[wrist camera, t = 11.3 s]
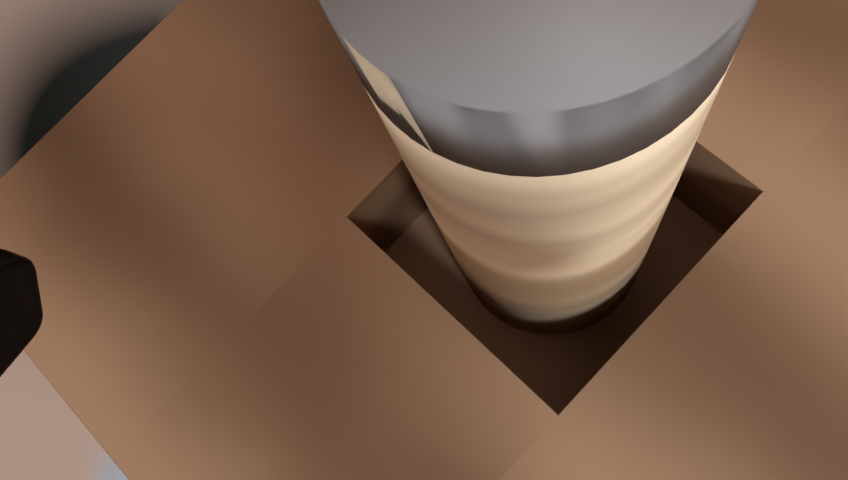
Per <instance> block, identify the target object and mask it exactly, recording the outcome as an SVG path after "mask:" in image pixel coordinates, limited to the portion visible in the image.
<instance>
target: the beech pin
mask: <svg viewBox="0 0 848 480" xmlns="http://www.w3.org/2000/svg"><path fill="white" fill-rule="evenodd" d="M319 2H320V4H321V6H322V8H323V10H324V12H325V14H326V16H327V18H328V19H329V21H330V23H331V25H332V27H333V29H334V31H335V33H336V34H337V36H338V38H339V40H340V42H341V44H342V46H343V48H344V50H345V51H346V53H347V55H348V57H349V59H350V61H351V63H352V65H353V67H354V68H355V70H356V72H357V74H358V76H359V78H360V80H361V82H362V84H363V85H364V87H365V89H366V91H367V93H368V95H369V97H370V99H371V101H372V102H373V104H374V106H375V108H376V110H377V112H378V114H379V116H380V117H381V119H382V121H383V123H384V125H385V127H386V129H387V131H388V133H389V134H390V136H391V138H392V140H393V142H394V144H395V146H396V148H397V150H398V151H399V153H400V155H401V157H402V159H403V161H404V163H405V165H406V167H407V168H408V170H409V172H410V174H411V176H412V178H413V180H414V182H415V184H416V185H417V187H418V189H419V191H420V193H421V195H422V197H423V199H424V200H425V202H426V204H427V206H428V208H429V210H430V212H431V214H432V216H433V217H434V219H435V221H436V223H437V225H438V227H439V229H440V231H441V233H442V234H443V236H444V238H445V240H446V242H447V244H448V246H449V248H450V250H451V251H452V253H453V255H454V257H455V259H456V261H457V263H458V265H459V267H460V268H461V270H462V272H463V274H464V276H465V278H466V280H467V282H468V283H469V285H470V287H471V289H472V291H473V292H474V294H475V295H476V297H477V298H478V300H479V301H480V302H481V303H482V305H483V306H484V307H485V308H486V309H487V310H488V311H489V312H491V313H492V314H493V315H494V316H495V317H497V318H498V319H500V320H501V321H503V322H504V323H506V324H508V325H510V326H512V327H514V328H517V329H520V330H522V331H525V332H530V333H534V334H542V335H562V334H567V333H573V332H576V331H579V330H582V329H585V328H587V327H590V326H592V325H594V324H596V323H597V322H599V321H601V320H602V319H604V318H605V317H607V316H608V315H609V314H610V313H611V312H612V311H614V310H615V309H616V308H617V307H618V305H619V304H620V303H621V302H622V301H623V300H624V298H625V297H626V295H627V294H628V292H629V291H630V289H631V287H632V284H633V282H634V280H635V278H636V276H637V274H638V271H639V269H640V267H641V265H642V262H643V260H644V258H645V256H646V253H647V251H648V249H649V247H650V244H651V242H652V240H653V238H654V235H655V233H656V231H657V228H658V226H659V224H660V222H661V219H662V217H663V215H664V213H665V210H666V208H667V206H668V204H669V201H670V199H671V197H672V195H673V192H674V190H675V188H676V186H677V183H678V181H679V179H680V177H681V174H682V172H683V170H684V168H685V165H686V163H687V161H688V159H689V156H690V154H691V152H692V149H693V147H694V145H695V143H696V140H697V138H698V136H699V134H700V131H701V129H702V127H703V125H704V122H705V120H706V118H707V116H708V113H709V111H710V109H711V107H712V104H713V102H714V100H715V98H716V95H717V93H718V91H719V89H720V86H721V84H722V82H723V79H724V77H725V75H726V73H727V70H728V68H729V66H730V64H731V61H732V59H733V57H734V55H735V52H736V50H737V48H738V46H739V43H740V41H741V39H742V37H743V34H744V32H745V30H746V28H747V25H748V23H749V21H750V19H751V16H752V14H753V12H754V10H755V7H756V5H757V3H758V0H319Z"/></svg>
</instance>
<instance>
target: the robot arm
mask: <svg viewBox="0 0 848 480" xmlns="http://www.w3.org/2000/svg"><path fill="white" fill-rule="evenodd" d="M42 319H43V310H42V303H41V297H40V291H39V285H38V279H37V273H36V269H35V266H34V264H33V263H32V261H31V260H30V259H28V258H27V257H24V256H21V255H19V254H16V253H13V252H11V251H8V250H5V249H0V377H1V375H2V374H3V373H4V372H5V371H6V369H7V368H8V367H9V366H10V365H11V364H12V362H13V361H14V360H15V359H16V358H17V357H18V355H19V354H20V353H21V352H22V351H23V349H24V348H25V347H26V346H27V345H28V344H29V342H30V341H31V340H32V339H33V338H34V336H35V335H36V334H37V332H38V330H39V328H40V326H41V323H42Z"/></svg>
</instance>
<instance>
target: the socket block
mask: <svg viewBox="0 0 848 480" xmlns="http://www.w3.org/2000/svg"><path fill="white" fill-rule="evenodd" d="M0 249H5V250H8V251H11V252H13V253H16V254H19V255H21V256H24V257H27V258H28V259H30V260H31V261H32V263H33V264H34V266H35V269H36V273H37V279H38V285H39V291H40V297H41V303H42V310H43V319H42V323H41V326H40V328H39V330H38V332H37V334H36V335H35V336H34V338H33V339H32V340H31V341H30V342H29V344H28V345H27V346H26V347H25V348H24V349H23V350H24V351H25V353H26V354H27V355H28V356H29V358H30V359H31V360H32V361H33V362H34V364H35V365H36V366H37V367H38V369H39V370H40V371H41V372H42V373H43V375H44V376H45V377H46V378H47V380H48V381H49V382H50V383H51V385H52V386H53V387H54V388H55V390H56V391H57V392H58V393H59V394H60V396H61V397H62V398H63V399H64V401H65V402H66V403H67V404H68V406H69V407H70V408H71V409H72V411H73V412H74V413H75V414H76V415H77V417H78V418H79V419H80V420H81V422H82V423H83V424H84V425H85V427H86V428H87V429H88V430H89V431H90V433H91V434H92V435H93V436H94V438H95V439H96V440H97V441H98V443H99V444H100V445H101V446H102V448H103V449H104V450H105V451H106V453H107V454H108V455H109V456H110V457H111V459H112V460H113V461H114V462H115V464H116V465H117V466H118V467H119V469H120V470H121V471H122V472H123V473H124V475H125V476H126V477H127V478H128V480H848V0H758V3H757V5H756V7H755V10H754V12H753V14H752V16H751V19H750V21H749V23H748V25H747V28H746V30H745V32H744V34H743V37H742V39H741V41H740V43H739V46H738V48H737V50H736V52H735V55H734V57H733V59H732V61H731V64H730V66H729V68H728V70H727V73H726V75H725V77H724V79H723V82H722V84H721V86H720V89H719V91H718V93H717V95H716V98H715V100H714V102H713V104H712V107H711V109H710V111H709V113H708V116H707V118H706V120H705V122H704V125H703V127H702V129H701V131H700V134H699V136H698V138H697V140H696V143H695V145H694V147H693V149H692V152H691V154H690V156H689V159H688V161H687V163H686V165H685V168H684V170H683V172H682V174H681V177H680V179H679V181H678V183H677V186H676V188H675V190H674V192H673V195H672V197H671V199H670V201H669V204H668V206H667V208H666V210H665V213H664V215H663V217H662V219H661V222H660V224H659V226H658V228H657V231H656V233H655V235H654V238H653V240H652V242H651V244H650V247H649V249H648V251H647V253H646V256H645V258H644V260H643V262H642V265H641V267H640V269H639V271H638V274H637V276H636V278H635V280H634V282H633V284H632V287H631V289H630V291H629V292H628V294H627V295H626V297H625V298H624V300H623V301H622V302H621V303H620V304H619V305H618V307H617V308H616V309H615V310H614V311H612V312H611V313H610V314H609V315H608V316H607V317H605V318H604V319H602V320H601V321H599V322H597V323H596V324H594V325H592V326H590V327H587V328H585V329H582V330H579V331H576V332H573V333H567V334H562V335H542V334H534V333H530V332H525V331H522V330H520V329H517V328H514V327H512V326H510V325H508V324H506V323H504V322H503V321H501V320H500V319H498V318H497V317H495V316H494V315H493V314H492V313H491V312H489V311H488V310H487V309H486V308H485V307H484V306H483V305H482V303H481V302H480V301H479V300H478V298H477V297H476V295H475V294H474V292H473V291H472V289H471V287H470V285H469V283H468V282H467V280H466V278H465V276H464V274H463V272H462V270H461V268H460V267H459V265H458V263H457V261H456V259H455V257H454V255H453V253H452V251H451V250H450V248H449V246H448V244H447V242H446V240H445V238H444V236H443V234H442V233H441V231H440V229H439V227H438V225H437V223H436V221H435V219H434V217H433V216H432V214H431V212H430V210H429V208H428V206H427V204H426V202H425V200H424V199H423V197H422V195H421V193H420V191H419V189H418V187H417V185H416V184H415V182H414V180H413V178H412V176H411V174H410V172H409V170H408V168H407V167H406V165H405V163H404V161H403V159H402V157H401V155H400V153H399V151H398V150H397V148H396V146H395V144H394V142H393V140H392V138H391V136H390V134H389V133H388V131H387V129H386V127H385V125H384V123H383V121H382V119H381V117H380V116H379V114H378V112H377V110H376V108H375V106H374V104H373V102H372V101H371V99H370V97H369V95H368V93H367V91H366V89H365V87H364V85H363V84H362V82H361V80H360V78H359V76H358V74H357V72H356V70H355V68H354V67H353V65H352V63H351V61H350V59H349V57H348V55H347V53H346V51H345V50H344V48H343V46H342V44H341V42H340V40H339V38H338V36H337V34H336V33H335V31H334V29H333V27H332V25H331V23H330V21H329V19H328V18H327V16H326V14H325V12H324V10H323V8H322V6H321V4H320V2H319V0H183V1H182V2H181V3H180V4H179V5H178V6H177V7H176V8H174V9H173V10H172V11H171V12H170V13H169V14H168V15H167V16H166V17H165V18H164V19H163V20H162V21H161V22H160V23H159V24H158V25H157V26H156V27H155V28H154V29H153V30H152V31H151V32H150V33H149V34H148V35H147V36H146V37H145V38H144V39H143V40H142V41H141V42H140V43H139V44H138V45H137V46H136V47H135V48H134V49H133V50H132V51H131V52H130V53H129V54H127V55H126V56H125V57H124V59H122V60H121V62H119V63H118V64H117V65H116V66H115V67H114V68H113V69H112V70H111V71H110V72H109V73H108V74H107V75H106V76H105V77H104V78H103V79H102V80H101V81H100V82H99V83H98V84H97V85H96V86H95V87H94V88H93V89H92V90H91V91H90V92H89V93H88V94H87V95H86V96H85V97H84V98H83V99H81V100H80V102H78V104H76V105H75V106H74V107H73V108H72V109H71V110H70V111H69V112H68V113H67V114H66V115H65V116H64V117H63V118H62V119H61V120H60V121H59V122H58V123H57V124H56V125H55V126H54V127H53V128H52V129H51V130H50V131H49V132H48V133H47V134H46V135H45V136H44V137H43V138H42V139H41V140H40V141H39V142H38V143H37V144H36V145H35V146H34V147H33V148H31V149H30V150H29V151H28V152H27V153H26V154H25V155H24V156H23V157H22V158H21V159H20V160H19V161H18V162H17V163H16V164H15V165H14V166H13V167H12V168H11V169H10V170H9V171H8V172H7V173H6V174H5V175H4V176H3V177H2V178H1V179H0Z"/></svg>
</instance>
